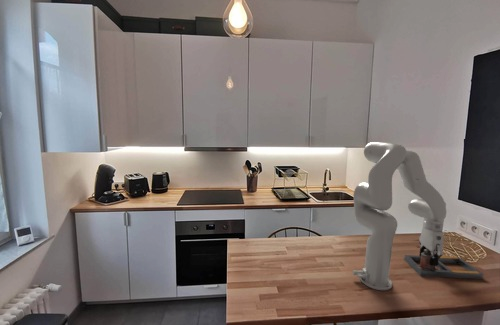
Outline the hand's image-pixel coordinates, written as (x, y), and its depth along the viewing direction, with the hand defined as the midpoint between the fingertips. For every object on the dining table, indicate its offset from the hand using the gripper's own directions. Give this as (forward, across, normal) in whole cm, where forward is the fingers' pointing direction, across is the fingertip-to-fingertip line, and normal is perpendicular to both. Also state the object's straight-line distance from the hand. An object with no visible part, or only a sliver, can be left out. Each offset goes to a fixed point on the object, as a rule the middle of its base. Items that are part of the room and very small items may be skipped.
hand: (428, 260), depth 122 cm
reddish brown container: (+4, 0, 0) cm, 4 cm away
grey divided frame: (+4, 0, -6) cm, 7 cm away
